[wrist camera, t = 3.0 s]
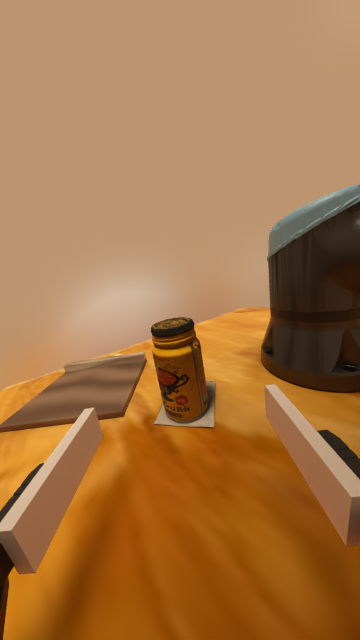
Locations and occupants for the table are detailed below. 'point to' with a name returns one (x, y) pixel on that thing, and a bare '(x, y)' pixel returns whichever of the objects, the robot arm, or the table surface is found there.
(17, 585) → the table surface
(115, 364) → the dock board
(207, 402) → the condiment
